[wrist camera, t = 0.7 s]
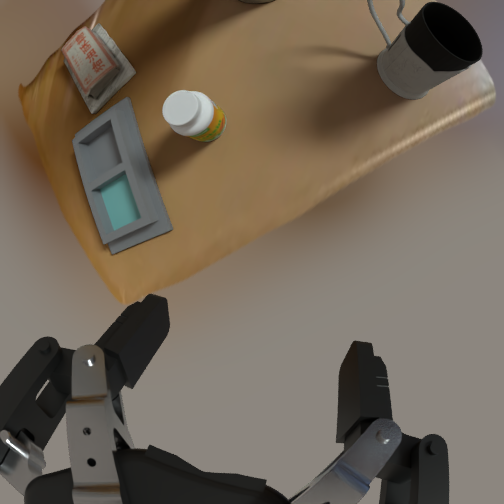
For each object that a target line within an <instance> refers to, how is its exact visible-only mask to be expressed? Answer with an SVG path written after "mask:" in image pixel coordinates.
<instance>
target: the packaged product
mask: <svg viewBox="0 0 504 504" xmlns="http://www.w3.org/2000/svg"><path fill="white" fill-rule="evenodd" d="M62 52H63V55H64V57H65V59H64V62H65V64H66V66H67V68H68V70H69V72H70V74H71V76H72V78H73V80H74V82H75V84H76V86H77V88H78V90H79V92H80V93H81V95H82V97H83V99H84V101H85V103H86V105H87V107H88V108H89V110H90V112H91V113H92V114H96V113H97V112H98V111H99V110H100V109H101V108H102V107H103V106H104V105H105V104H106V103H107V102H108V100H109V99H110V98H111V97H112V96H113V95H114V94H115V93H116V92H117V91H118V90H119V89H120V88H121V87H122V86H123V85H125V84H126V83H127V82H128V81H129V80H130V79H131V78H132V77H133V76H134V75H135V73H136V71H135V70H134V68H133V67H132V65H131V64H130V62H129V61H128V60H127V58H126V57H125V56H124V55H123V54H122V52H121V51H120V50H119V48H118V47H117V45H116V44H115V42H114V41H113V39H111V38H110V37H109V35H108V34H107V32H106V31H105V30H104V28H103V27H102V26H101V25H100V23H98V25H96V26H95V27H94V28H93V29H92V30H90V29H89V28H87V27H83V28H81V29H80V30H78V31H77V32H76V33H75V34H74V35H73V37H72V38H71V39H70V40H69V41H68V42H67V43H66V44H65V46H64V47H63V48H62Z"/></svg>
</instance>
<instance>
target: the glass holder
mask: <svg viewBox="0 0 504 504" xmlns="http://www.w3.org/2000/svg"><path fill="white" fill-rule="evenodd" d="M367 2H368V6H369V10H370V13H371V15H372V17H373V19H374V20H375V22H376V24H377V26H378V28H379V29H380V31H381V33H382V35H383V37H384V39H385V41H386V43H387V46H386V49H384V50H383V51H382V52H381V53H380V54H379V56H378V59H377V69H378V72H379V75H380V77H381V79H382V80H383V82H384V83H385V84H386V86H387V87H388V88H389V89H390V90H392V91H393V92H394V93H396V94H397V95H399V96H401V97H403V98H406V99H413V100H416V99H420V98H422V97H424V96H425V95H426V94H427V93H428V91H429V90H430V89H432V88H433V87H435V86H437V85H439V84H441V83H442V82H444V81H446V80H448V79H450V78H451V77H453V76H455V75H457V74H459V73H461V72H462V71H464V70H466V69H468V68H469V67H471V65H472V64H474V63H476V62H478V61H479V60H480V59H481V57H482V45H481V42H480V39H479V37H478V35H477V33H476V31H475V30H474V28H473V27H472V26H471V24H470V23H469V22H468V21H467V20H466V19H465V18H464V17H463V16H462V15H461V14H460V13H458V12H457V11H456V10H454V9H453V8H451V7H449V6H447V5H445V4H442V3H438V2H429V3H426V4H425V5H424V6H423V7H422V9H421V10H420V11H419V12H418V14H417V15H416V16H415V17H414V19H413V20H412V21H411V22H408V21H407V20H406V19H405V18H404V17H403V16H402V14H401V12H402V10H403V8H404V5H405V0H400V6H399V8H398V10H397V16H398V18H399V19H400V20H401V21H402V22H403V23H404V24H405V25H406V26H405V27H404V28H403V30H402V31H401V32H400V34H399V35H398V36H397V37H396V39H395V40H394V41H393V43H392V44H391V41H390V39H389V37H388V35H387V33H386V31H385V29H384V28H383V26H382V24H381V22H380V20H379V18H378V16H377V14H376V12H375V9H374V6H373V2H372V0H367Z"/></svg>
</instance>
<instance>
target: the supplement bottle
mask: <svg viewBox="0 0 504 504" xmlns="http://www.w3.org/2000/svg"><path fill="white" fill-rule="evenodd" d="M163 116H164V118H165V120H166V121H167V122H168V123H169V125H170V126H171V128H172V129H173V130H174V131H175V132H177V133H178V134H180V135H183V136H186V137H189V138H192V139H195V140H198V141H202V142H209V141H212V140H215V139H216V138H218V137H219V136H220V135H221V134H222V133H223V131H224V129H225V127H226V116H225V114H224V112H223V111H222V110H221V109H220V108H219V107H218V106H217V105H216V104H215V103H214V102H213V101H212V100H210V99H209V98H208V97H207V96H206V95H204V94H202V93H200V92H196V91H186V90H181V91H177V92H174V93H173V94H171V95H170V96H169V97H168V98H167V99H166V101H165V103H164V105H163Z"/></svg>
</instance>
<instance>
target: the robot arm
mask: <svg viewBox="0 0 504 504" xmlns="http://www.w3.org/2000/svg"><path fill="white" fill-rule="evenodd" d="M239 1H242V2H246V3H266V2H270V1H273V0H239ZM169 328H170V321H169V312H168V303H167V299H166V298H164V297H160V296H157V295H153V294H148V295H147V296H146V297H145V299H144V300H143V301H142V302H138V301H137V302H135V303H134V304H132V305H130V306H128V307H127V308H126V309H125V310H124V311H123V313H122V314H121V316H119V317H118V318H117V319H116V321H115V322H114V323H113V324H112V325H111V326H110V327H109V329H108V330H107V331H106V332H105V333H104V334H103V335H102V336H101V338H100V339H99V340H98V341H97V342H96V343H95V344H94V345H90V344H89V345H84V346H81V347H80V348H78V349H77V350H71V349H66V348H61V347H60V346H59V344H58V342H57V340H56V339H55V338H52V337H43V338H40V339H39V340H37V341H36V342H35V343H34V345H33V346H32V347H31V348H30V349H29V350H28V352H27V353H26V354H25V355H24V356H23V358H22V359H21V360H20V361H19V363H18V364H17V365H16V366H15V367H14V369H13V370H12V371H11V372H10V374H9V375H8V376H7V378H6V379H5V380H4V382H3V383H2V384H1V386H0V474H1V475H2V476H3V477H4V478H5V479H6V480H7V481H8V482H9V483H10V484H11V485H12V486H13V487H14V488H15V489H16V490H17V491H19V492H20V493H21V494H22V495H23V496H24V502H25V503H24V504H357V503H358V502H359V501H360V500H361V499H362V498H363V497H364V495H365V494H366V493H367V492H368V490H369V488H370V486H369V484H370V483H371V481H372V480H373V479H374V478H375V477H377V478H381V479H382V482H381V492H380V500H379V504H449V464H448V449H447V444H446V442H445V440H444V439H443V438H442V437H441V436H439V435H436V434H430V435H427V436H425V437H424V438H423V439H419V438H415V437H412V436H409V435H406V434H404V433H402V432H401V429H400V427H399V426H398V425H397V424H396V423H395V422H394V421H393V418H392V409H391V400H390V391H389V387H388V386H389V384H388V379H387V377H388V376H387V370H386V366H385V364H384V362H383V361H382V359H381V357H379V356H374V353H373V346H372V344H371V343H368V342H360V341H353V343H352V344H351V347H350V349H349V351H348V353H347V355H346V356H345V359H344V360H343V363H342V364H341V367H340V371H339V389H338V418H337V435H336V443H344V451H343V452H342V453H340V455H339V456H338V457H337V458H336V459H335V460H334V461H333V462H332V463H330V464H329V465H328V466H327V467H326V468H325V469H324V470H323V471H322V472H321V473H320V474H319V475H318V476H317V477H315V478H314V479H313V480H312V481H311V482H310V483H308V484H307V485H306V486H305V487H303V488H302V489H301V490H300V491H298V492H297V493H296V494H295V495H293V496H292V497H291V498H289V499H287V498H286V497H285V496H284V495H283V494H281V493H279V492H278V491H277V490H275V489H273V488H271V487H269V486H267V485H266V480H265V479H259V478H254V477H249V476H244V475H240V474H229V473H211V472H203V471H201V470H199V469H197V468H196V467H194V466H192V465H191V464H189V463H187V462H186V461H184V460H183V459H181V458H180V457H178V456H176V455H174V454H171V453H169V452H166V451H163V450H161V449H159V448H156V447H154V446H152V445H149V447H148V449H135V448H134V444H133V441H132V439H131V436H130V434H129V431H128V427H127V423H126V418H125V412H124V407H123V402H122V395H121V389H122V388H123V386H124V385H125V386H127V387H129V388H131V389H133V387H134V385H135V384H136V382H137V381H138V379H139V378H140V376H141V375H142V373H143V372H144V370H145V369H146V367H147V365H148V364H149V362H150V361H151V359H152V357H153V356H154V355H155V353H156V352H157V350H158V349H159V347H160V346H161V344H162V343H163V341H164V339H165V338H166V336H167V334H168V332H169ZM47 380H49V383H48V384H47V386H46V387H45V388H44V390H43V391H42V392H41V394H40V395H39V397H38V398H37V400H36V396H37V394H38V392H39V391H40V389H41V388H42V386H43V385H44V384H45V382H46V381H47ZM65 413H66V424H67V438H68V448H69V456H70V463H71V468H67V469H64V470H60V471H57V472H53V473H49V474H45V475H42V469H44V468H45V466H46V462H45V460H44V454H43V450H44V448H45V446H46V445H47V443H48V441H49V439H50V438H51V436H52V434H53V432H54V431H55V429H56V427H57V426H58V424H59V422H60V421H61V419H62V418H63V416H64V414H65Z"/></svg>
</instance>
